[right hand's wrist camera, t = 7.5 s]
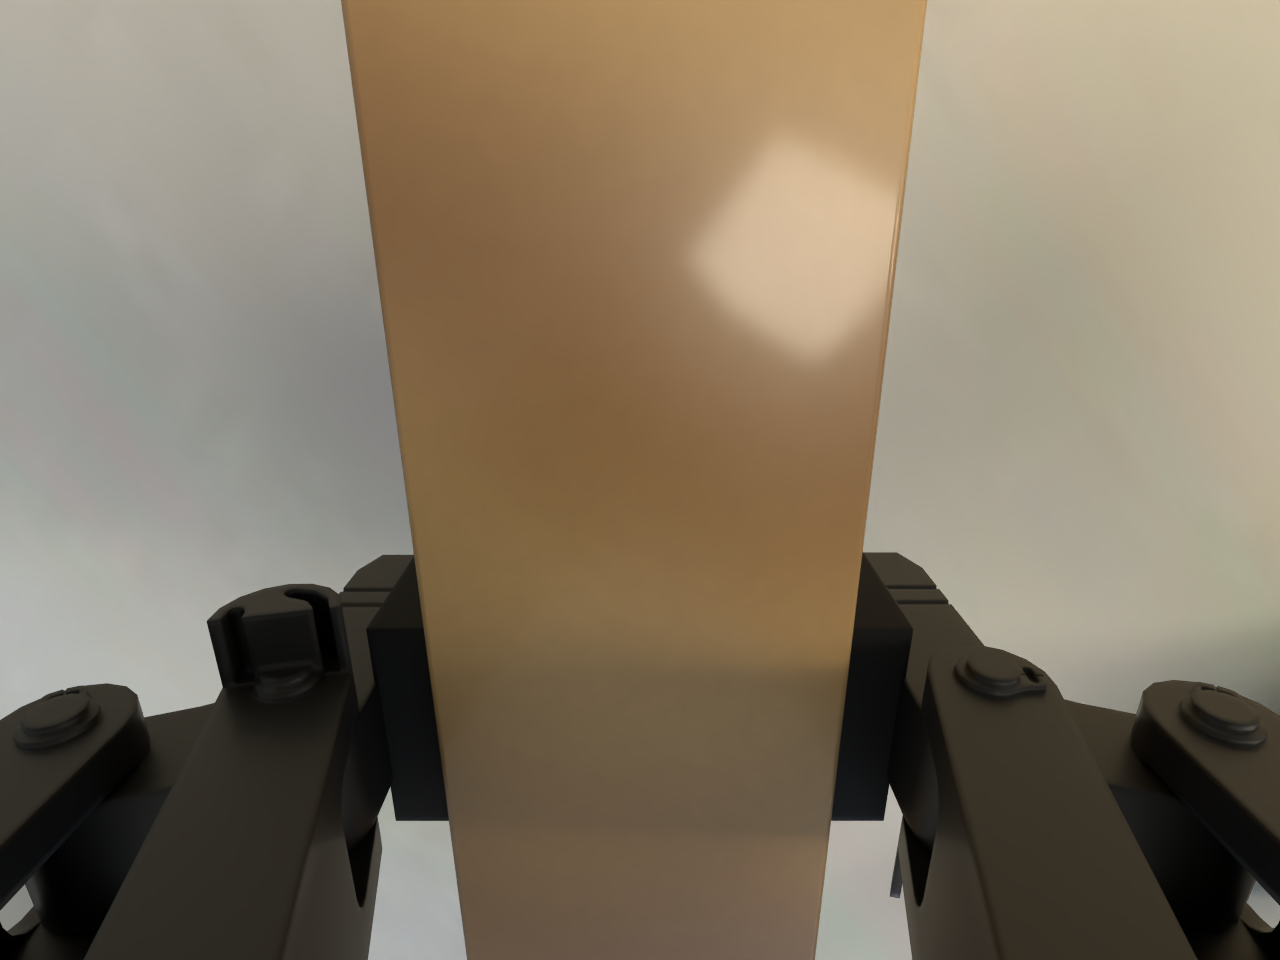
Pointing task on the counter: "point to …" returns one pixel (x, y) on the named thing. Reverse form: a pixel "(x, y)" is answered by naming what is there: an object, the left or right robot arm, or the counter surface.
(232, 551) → the counter surface
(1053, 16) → the counter surface
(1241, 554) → the counter surface
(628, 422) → the post
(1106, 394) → the counter surface
